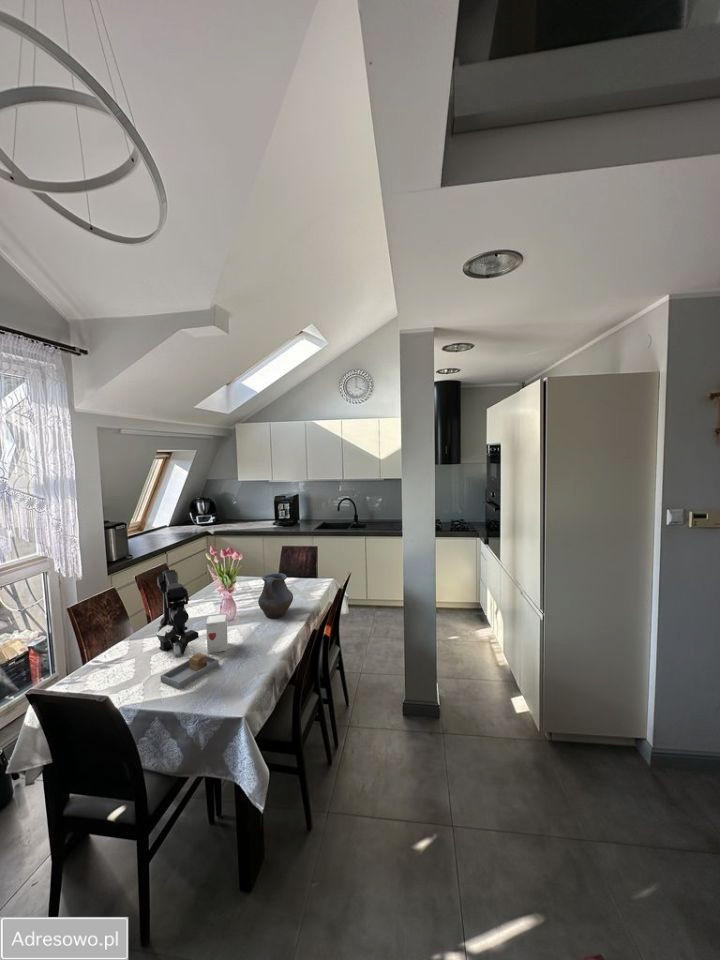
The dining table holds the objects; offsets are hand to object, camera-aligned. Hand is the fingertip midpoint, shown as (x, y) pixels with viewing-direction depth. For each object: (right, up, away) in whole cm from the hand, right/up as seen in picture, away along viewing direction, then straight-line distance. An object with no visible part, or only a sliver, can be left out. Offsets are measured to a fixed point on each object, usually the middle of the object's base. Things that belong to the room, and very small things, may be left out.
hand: (179, 652), depth 164 cm
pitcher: (+27, -7, +65) cm, 70 cm away
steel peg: (0, -1, 0) cm, 1 cm away
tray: (+3, -11, +5) cm, 13 cm away
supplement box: (+6, -10, +27) cm, 29 cm away
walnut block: (+5, -10, +9) cm, 14 cm away
